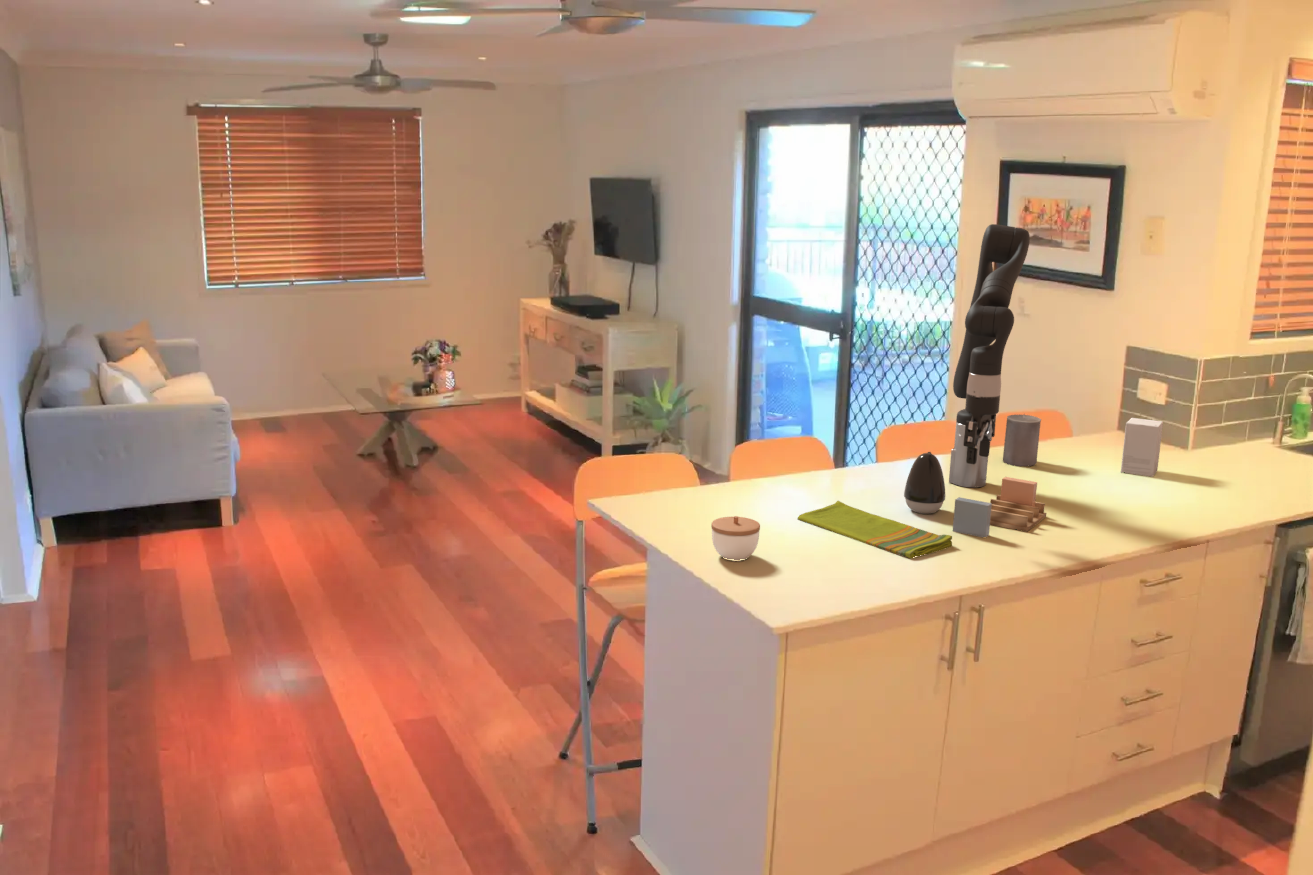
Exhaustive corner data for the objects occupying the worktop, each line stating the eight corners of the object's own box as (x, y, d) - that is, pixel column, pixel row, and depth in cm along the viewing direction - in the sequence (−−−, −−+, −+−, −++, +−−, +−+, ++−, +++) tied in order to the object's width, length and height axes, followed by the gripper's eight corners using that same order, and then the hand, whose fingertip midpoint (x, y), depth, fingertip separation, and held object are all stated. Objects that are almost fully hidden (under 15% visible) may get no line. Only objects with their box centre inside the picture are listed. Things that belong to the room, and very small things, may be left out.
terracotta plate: (999, 509, 277) (1002, 478, 275) (1002, 506, 279) (1005, 476, 277) (1031, 515, 273) (1034, 484, 271) (1034, 512, 275) (1037, 482, 273)
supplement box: (1158, 470, 320) (1164, 420, 316) (1153, 477, 313) (1159, 426, 309) (1125, 465, 325) (1131, 416, 321) (1119, 472, 317) (1125, 422, 314)
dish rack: (974, 521, 270) (975, 507, 269) (995, 507, 282) (996, 494, 281) (1027, 531, 263) (1028, 518, 262) (1046, 516, 275) (1047, 503, 274)
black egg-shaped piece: (945, 507, 281) (950, 450, 278) (942, 518, 272) (947, 459, 268) (905, 503, 285) (909, 446, 281) (900, 514, 275) (904, 456, 272)
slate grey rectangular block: (952, 531, 263) (955, 499, 261) (956, 528, 265) (959, 497, 263) (985, 538, 258) (988, 505, 256) (988, 535, 260) (991, 503, 258)
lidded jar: (707, 549, 248) (708, 509, 245) (754, 548, 249) (755, 509, 246) (714, 565, 237) (715, 524, 235) (762, 564, 238) (764, 524, 236)
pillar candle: (1000, 457, 332) (1004, 409, 328) (1033, 459, 331) (1038, 410, 327) (1005, 466, 323) (1010, 416, 319) (1039, 467, 321) (1044, 418, 318)
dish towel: (911, 562, 243) (912, 548, 242) (795, 521, 270) (796, 509, 269) (954, 548, 252) (955, 535, 251) (838, 510, 279) (839, 498, 279)
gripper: (978, 386, 261) (972, 451, 265) (956, 395, 250) (951, 463, 253) (1009, 389, 257) (1003, 456, 261) (988, 399, 245) (982, 468, 249)
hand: (977, 459), depth 257 cm, fingers open, 8 cm apart
